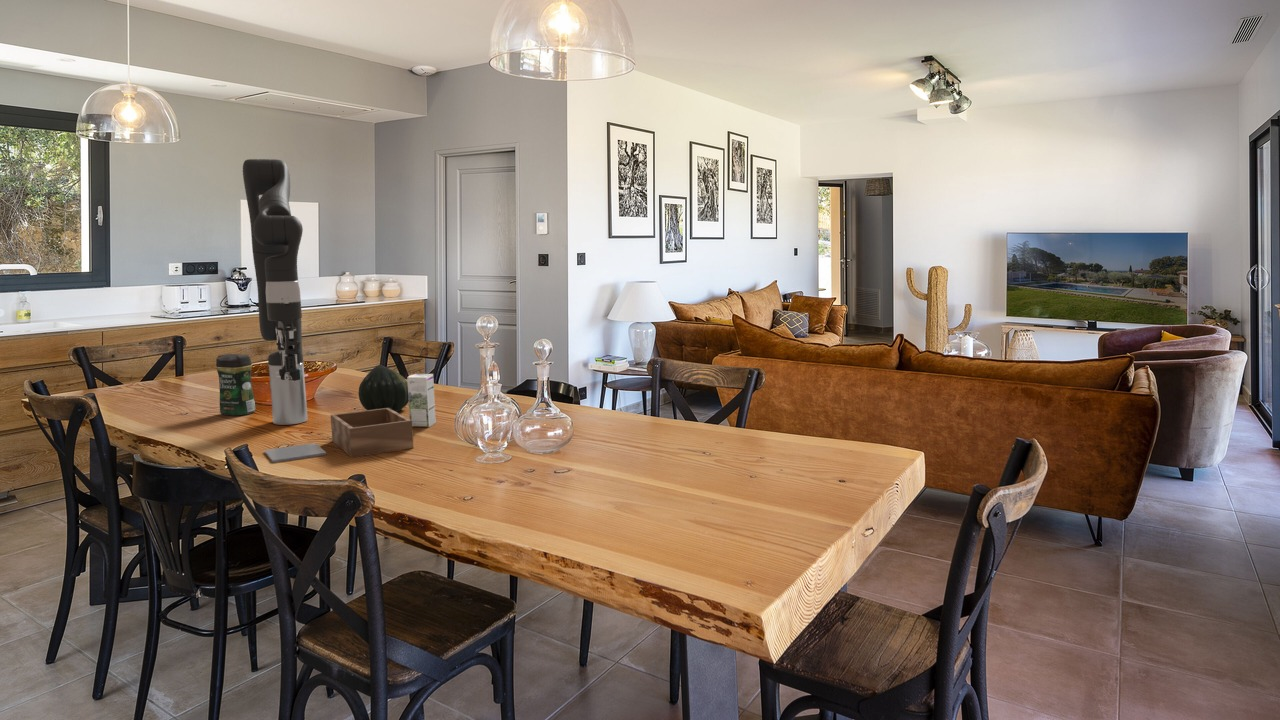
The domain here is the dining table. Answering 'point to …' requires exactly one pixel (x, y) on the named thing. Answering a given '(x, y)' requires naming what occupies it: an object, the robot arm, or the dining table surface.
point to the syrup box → (421, 400)
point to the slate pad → (294, 452)
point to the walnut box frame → (371, 432)
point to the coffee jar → (235, 384)
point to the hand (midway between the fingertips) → (289, 370)
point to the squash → (383, 390)
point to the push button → (283, 372)
